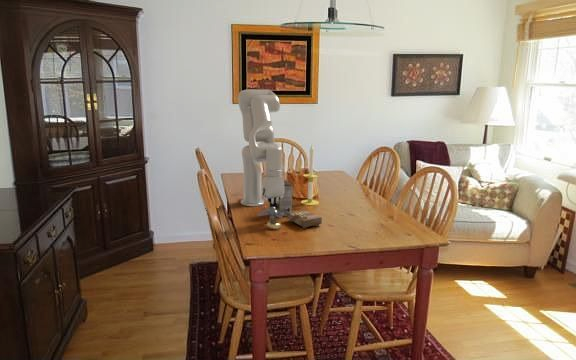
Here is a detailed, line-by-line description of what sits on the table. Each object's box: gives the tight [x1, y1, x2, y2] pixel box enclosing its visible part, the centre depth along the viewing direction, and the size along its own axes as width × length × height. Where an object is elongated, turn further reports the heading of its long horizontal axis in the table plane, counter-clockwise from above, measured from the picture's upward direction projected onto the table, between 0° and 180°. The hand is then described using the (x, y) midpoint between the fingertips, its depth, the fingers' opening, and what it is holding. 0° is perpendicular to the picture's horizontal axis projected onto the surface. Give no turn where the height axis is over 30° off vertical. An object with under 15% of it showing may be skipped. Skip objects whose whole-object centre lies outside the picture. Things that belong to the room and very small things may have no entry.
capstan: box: [257, 205, 287, 230], centre depth 211 cm, size 16×15×9 cm
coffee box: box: [277, 179, 294, 217], centre depth 230 cm, size 9×6×16 cm
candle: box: [300, 144, 320, 206], centre depth 247 cm, size 10×10×32 cm
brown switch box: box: [286, 209, 323, 230], centre depth 216 cm, size 14×10×6 cm
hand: (273, 211), depth 216 cm, fingers closed
